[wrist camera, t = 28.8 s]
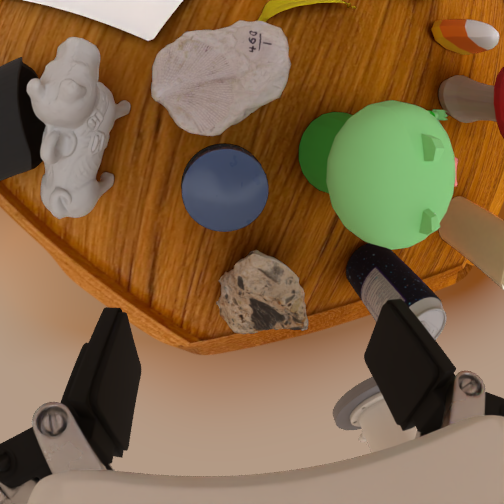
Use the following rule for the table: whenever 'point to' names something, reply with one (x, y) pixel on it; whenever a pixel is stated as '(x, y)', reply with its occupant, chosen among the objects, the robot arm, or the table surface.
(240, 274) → the rock
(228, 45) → the fossil
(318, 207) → the table surface
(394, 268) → the beverage can
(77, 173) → the dog figurine
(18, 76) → the pen holder
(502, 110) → the decorative mushroom
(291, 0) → the decorative leaf
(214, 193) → the lid
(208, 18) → the table surface
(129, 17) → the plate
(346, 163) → the toy character
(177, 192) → the table surface
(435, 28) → the candy corn
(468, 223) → the lidded jar
